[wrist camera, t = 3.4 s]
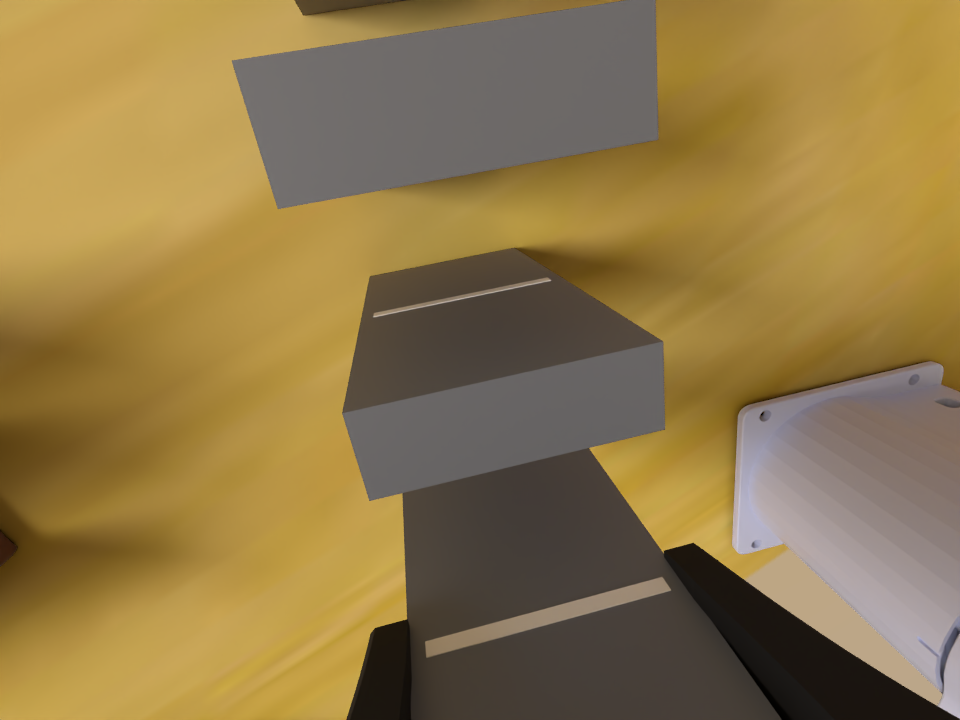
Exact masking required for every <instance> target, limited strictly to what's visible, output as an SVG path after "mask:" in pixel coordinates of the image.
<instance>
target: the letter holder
mask: <svg viewBox="0 0 960 720" xmlns="http://www.w3.org/2000/svg"><path fill="white" fill-rule="evenodd" d="M16 550H17V546H16V545H15V544H13V543H12V542H11V541H10V540H9V539H8V538H6V537H5V536H4V535H3V534H2V533H1V531H0V567H1V566H2V565H3V564H4V563H5V562H6V561H7V560H8V559H9V558H11V557H12V556H13V554H14V553H15V551H16Z"/></svg>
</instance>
